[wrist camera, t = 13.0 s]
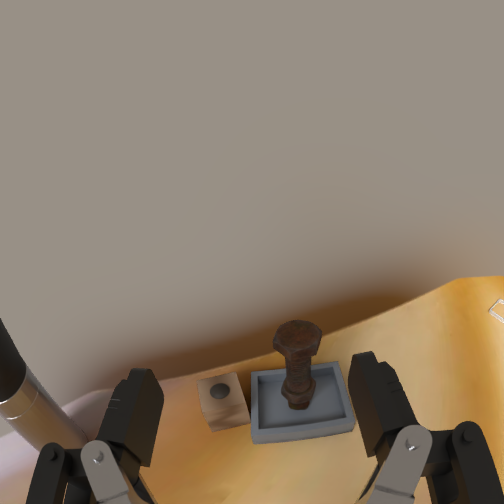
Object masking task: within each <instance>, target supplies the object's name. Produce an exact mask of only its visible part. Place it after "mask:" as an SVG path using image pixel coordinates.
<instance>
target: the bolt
mask: <svg viewBox="0 0 504 504" xmlns="http://www.w3.org/2000/svg"><path fill="white" fill-rule="evenodd" d="M321 338H322V331H321V330H320V329H319V328H318V327H317V326H316V325H314V324H313V323H311V322H308V321H302V320H293V321H289V322H286V323H284V324H283V325H281V326H280V327H279V328H278V329H277V331H276V333H275V336H274V339H273V348H274V349H275V350H277V351H278V352H279V353H281V354H282V355H283V356H285V362H286V378H285V380H284V382H283V384H282V387H281V394H282V395H283V396H284V398H286V399H287V400H288V406H289V408H290V409H294V410H306V409H307V408H308V407H309V404H310V400H311V399H312V397H313V394H314V391H315V387H316V381H315V380H314V379H313V378H312V377H311V356H314V355H316V354H317V351H318V348H319V345H320V341H321Z"/></svg>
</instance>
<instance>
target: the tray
mask: <svg viewBox="0 0 504 504" xmlns="http://www.w3.org/2000/svg"><path fill="white" fill-rule="evenodd" d="M311 377H312V378H313V379H314V380H315V381H316V387H315V391H314V394H313V397H312V399H311V400H310V404H309V407H308V408H307V409H306V410H294V409H290V408H289V406H288V400H287V399H286V398H284V396H283V395H282V394H281V387H282V384H283V382H284V380H285V378H286V369H276V370H266V371H254V372H251V437H252V440H253V444H266V443H279V442H289V441H297V440H305V439H312V438H318V437H325V436H330V435H336V434H341V433H346V432H350V431H352V430H353V427H354V424H355V418H354V415H353V411H352V408H351V404H350V401H349V397H348V394H347V390H346V387H345V383H344V380H343V377H342V374H341V370H340V367H339V364H338V361H335V362H329V363H323V364H316V365H311Z"/></svg>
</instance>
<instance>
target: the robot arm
mask: <svg viewBox="0 0 504 504" xmlns="http://www.w3.org/2000/svg"><path fill="white" fill-rule="evenodd" d="M348 388H349V393H350V396H351V399H352V403H353V406H354V410H355V413H356V417H357V420H358V424H359V427H360V431H361V434H362V438H363V442H364V446H365V449H366V453H367V457H372V456H375V455H376V458H377V461H378V463H377V464H376V466H375V468H374V470H373V472H372V474H371V476H370V478H369V480H368V482H367V483H366V485H365V487H364V489H363V490H362V492H361V494H360V496H359V497H358V499H357V500H356V502H355V503H354V504H413V503H414V499H415V497H414V491H415V488H416V486H417V484H418V481H419V479H420V477H425V476H426V480H427V484H428V488H429V493H430V497H431V502H432V504H504V495H503V491H502V487H501V484H500V480H499V477H498V474H497V471H496V468H495V465H494V462H493V459H492V456H491V453H490V450H489V448H488V445H487V442H486V440H485V437H484V435H483V432H482V430H481V428H480V427H479V425H477V424H476V423H474V422H471V421H465V422H462V423H460V424H459V425H458V426H457V427H456V428H455V429H454V430H443V431H430V430H427V429H426V428H425V427H423V426H421V425H420V424H419V423H418V422H417V420H416V417H415V415H414V413H413V410H412V408H411V406H410V403H409V401H408V399H407V396H406V394H405V392H404V390H403V387H402V385H401V383H400V382H399V379H398V376H397V374H396V372H395V370H394V369H393V368H392V367H391V366H390V365H389V364H388V363H387V362H386V361H384V362H380V363H378V362H377V359H376V357H375V355H374V353H373V352H372V351H369V352H364V353H359V354H354V355H353V357H352V361H351V366H350V371H349V376H348ZM163 404H164V394H163V391H162V389H161V387H160V385H159V383H158V381H157V379H156V378H155V376H154V374H153V372H152V370H151V369H140V368H133V369H132V370H131V371H130V373H129V376H128V379H127V380H122V381H121V382H120V383H119V384H118V386H117V387H116V388H115V389H114V392H113V395H112V397H111V400H110V402H109V405H108V408H107V410H106V413H105V416H104V419H103V421H102V424H101V427H100V430H99V433H98V436H97V438H96V440H94V441H90V442H88V441H87V437H86V435H85V434H84V432H83V431H82V430H81V429H80V428H79V427H78V426H77V425H76V424H75V423H74V422H73V421H72V420H71V419H70V418H69V417H68V415H67V414H66V413H65V412H64V411H63V410H62V409H61V408H60V407H59V405H58V404H57V403H56V402H55V401H54V400H53V399H52V397H51V396H50V395H49V394H48V392H47V391H46V390H45V389H44V387H43V386H42V385H41V383H40V382H39V381H38V380H37V378H36V377H35V376H34V374H33V373H32V372H31V370H30V369H29V367H28V366H27V365H26V363H25V362H24V360H23V359H22V357H21V356H20V354H19V352H18V350H17V348H16V347H15V345H14V343H13V341H12V339H11V337H10V335H9V334H8V332H7V330H6V328H5V326H4V325H3V322H2V320H1V318H0V416H1V417H2V418H3V419H4V420H5V421H6V422H7V423H8V424H9V425H10V426H11V427H12V428H13V429H14V430H15V431H16V432H17V433H19V434H20V435H21V436H22V437H23V438H24V439H25V440H26V441H27V442H28V443H30V444H31V445H32V446H33V447H34V448H35V449H37V450H38V451H39V452H40V454H39V457H38V460H37V464H36V467H35V470H34V474H33V477H32V481H31V484H30V488H29V492H28V496H27V500H26V504H63V498H64V494H65V489H66V485H67V483H68V485H67V490H66V494H65V499H64V504H158V503H157V501H156V500H155V498H154V496H153V495H152V493H151V491H150V490H149V488H148V486H147V485H146V483H145V481H144V479H143V478H142V476H141V474H140V473H139V470H140V466H145V467H150V463H151V458H152V453H153V448H154V444H155V439H156V434H157V430H158V425H159V421H160V417H161V412H162V408H163Z"/></svg>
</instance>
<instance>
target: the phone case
mask: <svg viewBox="0 0 504 504" xmlns="http://www.w3.org/2000/svg"><path fill="white" fill-rule="evenodd" d="M497 303H502V304H503V305H504V301H503V300H502V299H499V300H498V301H497V302H496V303H495V304H494V305H493V307H494V306H495V305H496V304H497ZM493 307H492V308H491V309H490V311H489V313H490V314H491V315H492V316H494V317H495V318H497V319H498V320H499V321H501V322H502V323H504V319H503V318H502V317H501V316H499V315H497V314H496V313H494V312H493V311H492V309H493Z"/></svg>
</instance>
